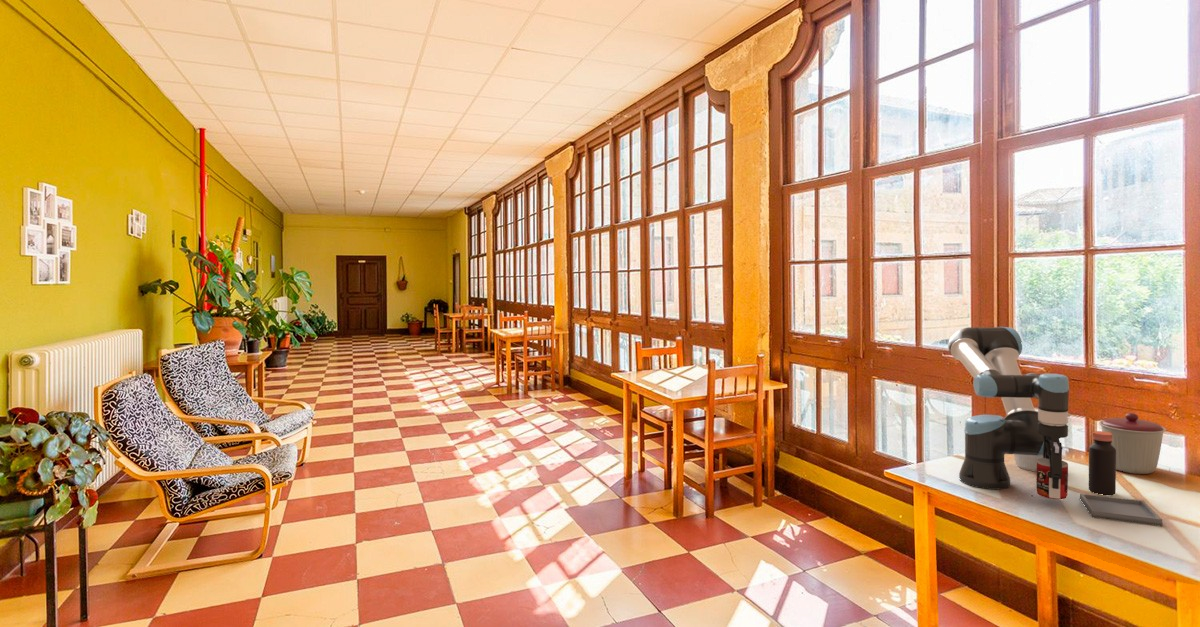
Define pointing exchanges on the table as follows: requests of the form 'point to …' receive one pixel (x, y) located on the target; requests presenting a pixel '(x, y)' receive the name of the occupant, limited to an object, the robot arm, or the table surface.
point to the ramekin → (1027, 461)
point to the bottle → (1102, 464)
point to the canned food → (1043, 480)
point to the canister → (1135, 443)
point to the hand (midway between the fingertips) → (1051, 493)
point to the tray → (1120, 509)
